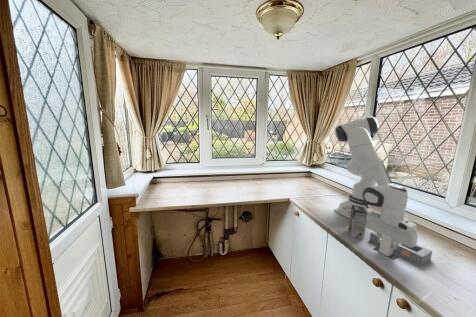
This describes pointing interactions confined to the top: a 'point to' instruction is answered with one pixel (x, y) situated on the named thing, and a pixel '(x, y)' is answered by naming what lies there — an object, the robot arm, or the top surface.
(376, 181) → the robot arm
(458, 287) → the top surface
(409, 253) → the socket block
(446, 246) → the top surface
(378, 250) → the mat
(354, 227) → the coffee box
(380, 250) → the plug
